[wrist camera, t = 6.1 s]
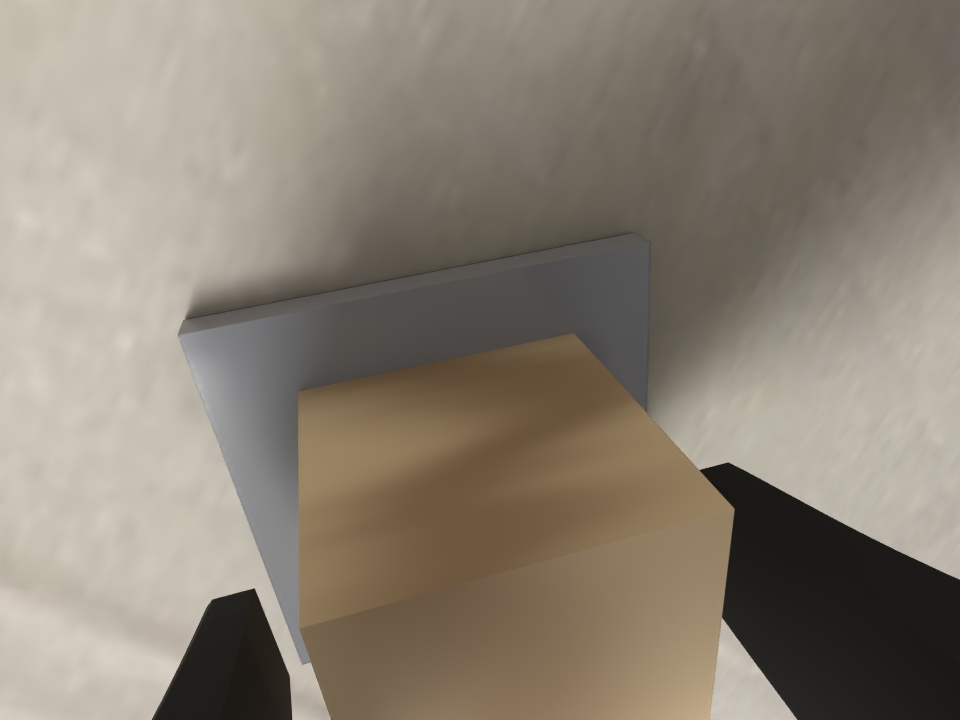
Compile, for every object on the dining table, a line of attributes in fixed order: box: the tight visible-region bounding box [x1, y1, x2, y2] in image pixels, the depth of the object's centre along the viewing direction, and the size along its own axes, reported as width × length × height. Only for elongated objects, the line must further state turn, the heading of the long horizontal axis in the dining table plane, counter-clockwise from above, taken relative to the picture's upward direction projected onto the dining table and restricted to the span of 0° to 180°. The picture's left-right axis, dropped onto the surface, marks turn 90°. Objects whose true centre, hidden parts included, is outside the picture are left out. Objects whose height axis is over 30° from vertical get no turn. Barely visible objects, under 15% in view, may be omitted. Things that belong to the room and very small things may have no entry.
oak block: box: [298, 333, 735, 720], centre depth 10 cm, size 5×5×5 cm
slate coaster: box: [178, 233, 650, 665], centre depth 13 cm, size 8×8×1 cm
